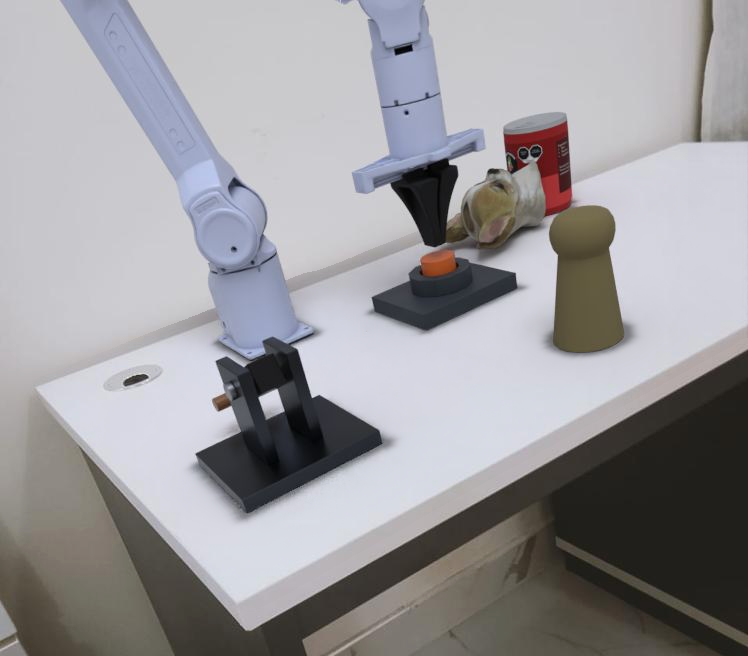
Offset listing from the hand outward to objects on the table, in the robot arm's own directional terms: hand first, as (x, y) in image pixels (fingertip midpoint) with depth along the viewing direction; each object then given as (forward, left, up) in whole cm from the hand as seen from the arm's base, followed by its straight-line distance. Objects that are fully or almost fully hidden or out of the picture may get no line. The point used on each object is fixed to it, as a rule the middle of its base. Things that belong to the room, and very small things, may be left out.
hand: (435, 244), depth 78 cm
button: (0, 0, -3) cm, 3 cm away
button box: (0, 0, -6) cm, 6 cm away
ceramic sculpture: (-10, +16, -6) cm, 20 cm away
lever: (+12, -27, -2) cm, 30 cm away
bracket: (+15, -27, -6) cm, 31 cm away
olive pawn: (+20, +1, -6) cm, 21 cm away
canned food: (-14, +27, -6) cm, 31 cm away
